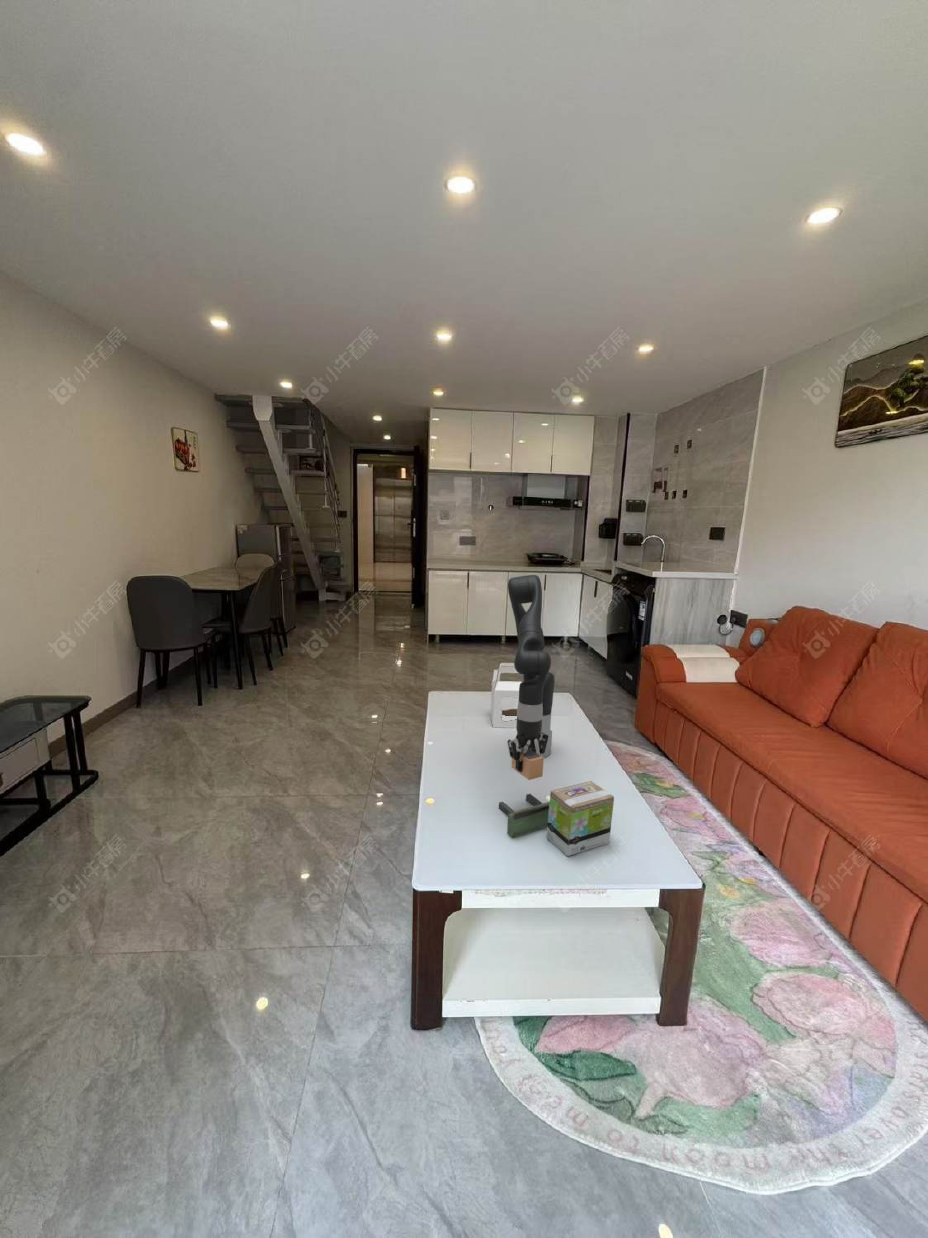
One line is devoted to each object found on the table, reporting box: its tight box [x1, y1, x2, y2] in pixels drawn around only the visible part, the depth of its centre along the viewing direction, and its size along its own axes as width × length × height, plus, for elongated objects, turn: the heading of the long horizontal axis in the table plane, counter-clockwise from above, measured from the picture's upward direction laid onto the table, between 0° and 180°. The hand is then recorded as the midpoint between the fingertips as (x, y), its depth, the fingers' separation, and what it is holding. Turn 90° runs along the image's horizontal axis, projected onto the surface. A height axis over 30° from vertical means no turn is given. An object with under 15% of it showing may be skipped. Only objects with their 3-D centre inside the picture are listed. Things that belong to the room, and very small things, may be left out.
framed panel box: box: [511, 748, 545, 781], centre depth 151 cm, size 5×9×6 cm, turn 29°
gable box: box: [490, 662, 524, 729], centre depth 224 cm, size 22×13×28 cm, turn 91°
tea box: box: [546, 780, 615, 857], centre depth 139 cm, size 15×10×15 cm
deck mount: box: [498, 793, 550, 839], centre depth 152 cm, size 22×15×7 cm
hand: (526, 768), depth 152 cm, fingers closed on framed panel box, 5 cm apart
